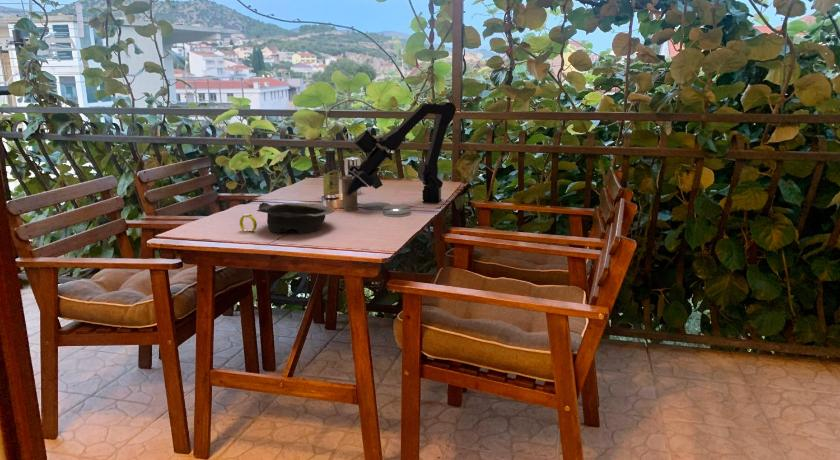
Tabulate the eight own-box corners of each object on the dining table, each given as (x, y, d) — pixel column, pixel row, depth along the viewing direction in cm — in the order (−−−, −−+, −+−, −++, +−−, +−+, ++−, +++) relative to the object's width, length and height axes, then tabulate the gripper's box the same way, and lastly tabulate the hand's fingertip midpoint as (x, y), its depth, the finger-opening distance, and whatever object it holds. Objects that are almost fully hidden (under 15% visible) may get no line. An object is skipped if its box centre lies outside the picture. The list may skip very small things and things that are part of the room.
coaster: (394, 204, 234) (394, 203, 234) (384, 210, 224) (384, 209, 224) (368, 202, 237) (368, 201, 237) (357, 209, 227) (357, 207, 227)
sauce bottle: (331, 200, 242) (329, 151, 237) (320, 198, 246) (318, 150, 241) (343, 197, 247) (340, 149, 242) (332, 195, 251) (329, 148, 246)
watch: (239, 232, 198) (236, 215, 197) (244, 230, 201) (242, 213, 199) (253, 233, 196) (251, 215, 194) (259, 230, 198) (256, 213, 197)
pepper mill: (354, 207, 230) (353, 173, 227) (357, 209, 226) (356, 175, 222) (343, 208, 229) (341, 174, 225) (345, 210, 225) (344, 176, 221)
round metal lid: (414, 212, 223) (414, 205, 222) (405, 218, 214) (405, 211, 213) (388, 210, 226) (388, 204, 225) (379, 216, 217) (378, 210, 216)
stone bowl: (247, 237, 191) (245, 208, 189) (276, 223, 215) (275, 197, 213) (323, 238, 187) (321, 208, 185) (343, 223, 212) (342, 197, 210)
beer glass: (361, 195, 252) (359, 159, 248) (344, 195, 252) (343, 159, 248) (363, 191, 258) (361, 157, 254) (347, 191, 259) (345, 157, 255)
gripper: (395, 179, 220) (367, 211, 220) (381, 171, 237) (355, 200, 237) (374, 159, 216) (345, 191, 215) (361, 152, 233) (334, 182, 232)
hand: (345, 192), depth 225 cm, fingers open, 7 cm apart
